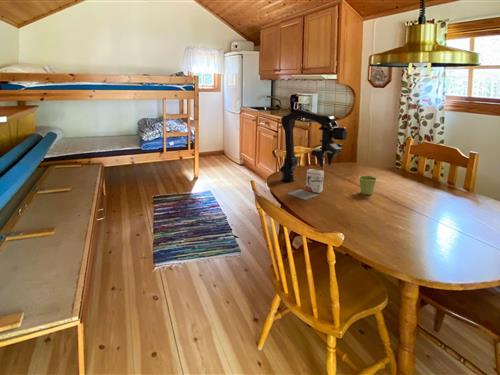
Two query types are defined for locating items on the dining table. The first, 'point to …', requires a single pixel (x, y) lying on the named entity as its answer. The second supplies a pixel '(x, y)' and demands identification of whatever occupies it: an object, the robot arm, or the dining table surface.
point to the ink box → (314, 180)
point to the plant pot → (367, 184)
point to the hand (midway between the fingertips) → (325, 166)
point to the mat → (302, 194)
